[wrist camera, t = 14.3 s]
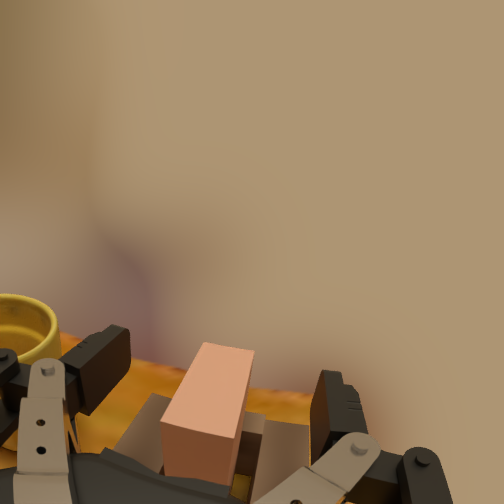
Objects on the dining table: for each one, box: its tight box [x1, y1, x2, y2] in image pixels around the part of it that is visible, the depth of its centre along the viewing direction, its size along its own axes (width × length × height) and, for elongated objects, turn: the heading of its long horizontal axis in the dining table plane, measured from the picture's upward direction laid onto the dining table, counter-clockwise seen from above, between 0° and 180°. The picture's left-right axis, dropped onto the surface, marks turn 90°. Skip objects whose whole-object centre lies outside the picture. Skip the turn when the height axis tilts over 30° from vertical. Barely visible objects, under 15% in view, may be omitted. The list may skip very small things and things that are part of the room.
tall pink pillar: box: [160, 342, 254, 495], centre depth 13 cm, size 2×6×12 cm, turn 173°
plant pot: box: [0, 294, 62, 451], centre depth 16 cm, size 10×10×10 cm
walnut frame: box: [113, 393, 309, 504], centre depth 14 cm, size 11×13×5 cm
